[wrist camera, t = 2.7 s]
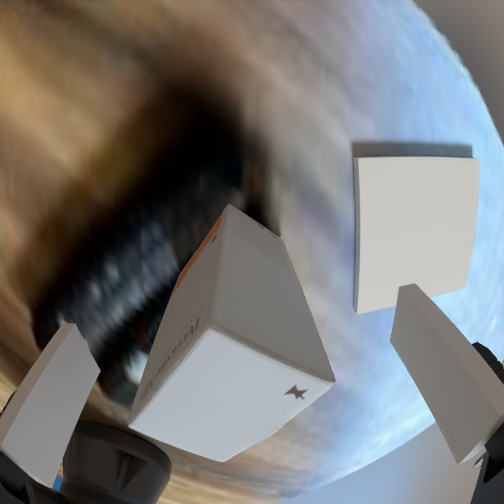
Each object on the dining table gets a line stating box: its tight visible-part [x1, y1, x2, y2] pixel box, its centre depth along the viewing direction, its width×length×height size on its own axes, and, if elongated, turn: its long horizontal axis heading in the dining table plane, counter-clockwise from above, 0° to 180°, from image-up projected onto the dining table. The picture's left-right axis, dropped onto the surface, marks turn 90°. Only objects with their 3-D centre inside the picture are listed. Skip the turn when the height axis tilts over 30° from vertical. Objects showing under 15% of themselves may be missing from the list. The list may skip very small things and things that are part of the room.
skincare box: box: [127, 204, 336, 462], centre depth 13 cm, size 6×4×12 cm
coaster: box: [353, 156, 479, 315], centre depth 18 cm, size 11×11×1 cm
